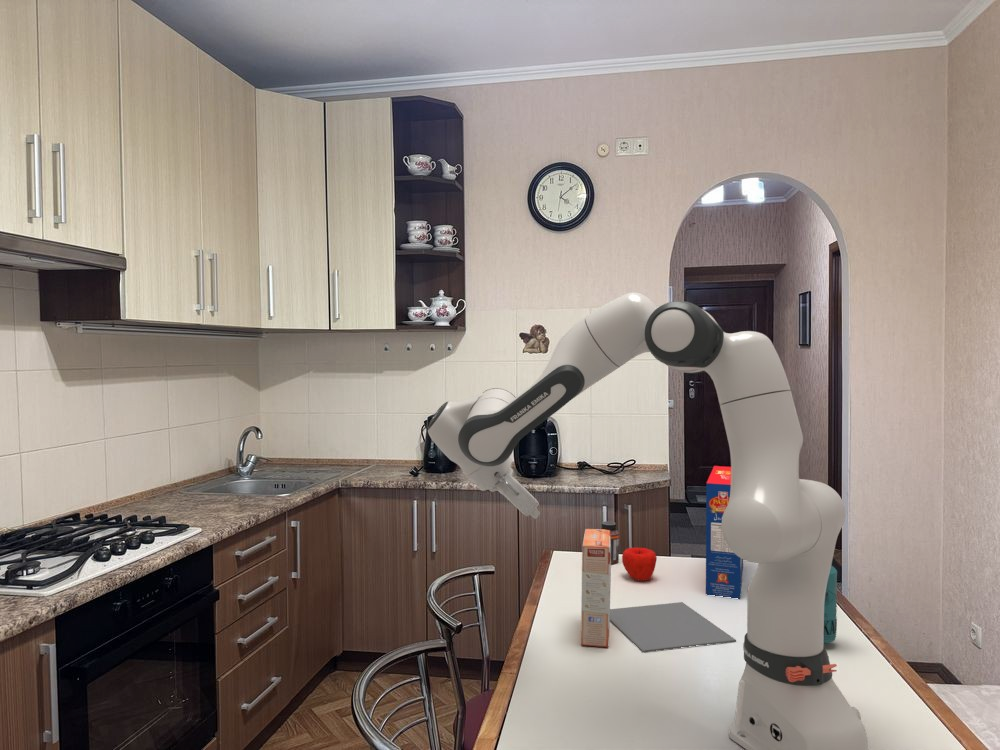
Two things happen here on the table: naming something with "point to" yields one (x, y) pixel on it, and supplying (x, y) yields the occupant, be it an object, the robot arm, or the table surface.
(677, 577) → the table surface
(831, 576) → the beverage bottle
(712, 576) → the pasta box
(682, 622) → the mat
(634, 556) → the apple
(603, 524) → the supplement bottle
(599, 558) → the cracker box
